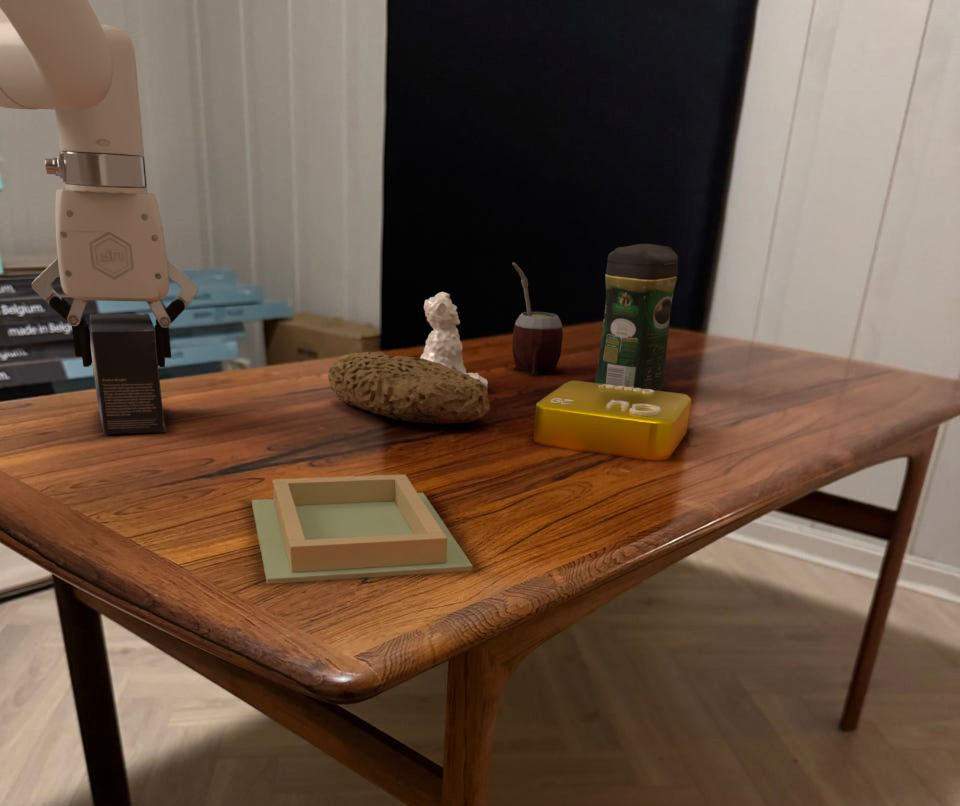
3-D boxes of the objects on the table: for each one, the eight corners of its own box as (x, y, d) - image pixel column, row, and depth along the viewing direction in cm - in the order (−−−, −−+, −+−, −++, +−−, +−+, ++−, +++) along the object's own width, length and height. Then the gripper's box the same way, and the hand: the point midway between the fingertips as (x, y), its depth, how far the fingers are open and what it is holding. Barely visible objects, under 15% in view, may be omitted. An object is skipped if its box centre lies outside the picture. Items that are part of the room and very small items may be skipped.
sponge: (317, 415, 114) (400, 419, 98) (320, 347, 113) (405, 340, 97) (411, 424, 122) (502, 430, 106) (416, 361, 120) (509, 357, 104)
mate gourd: (560, 369, 140) (569, 260, 133) (558, 380, 133) (568, 265, 126) (509, 366, 140) (516, 256, 133) (505, 377, 133) (512, 262, 126)
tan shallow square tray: (267, 586, 67) (265, 552, 66) (251, 506, 81) (250, 477, 80) (472, 573, 71) (474, 540, 70) (423, 498, 85) (423, 470, 84)
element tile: (688, 431, 111) (695, 390, 109) (666, 465, 98) (673, 418, 96) (564, 415, 115) (568, 374, 113) (528, 445, 103) (531, 400, 100)
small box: (98, 410, 106) (86, 311, 101) (160, 409, 108) (151, 312, 103) (100, 435, 97) (87, 327, 92) (167, 432, 99) (158, 328, 94)
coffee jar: (618, 383, 133) (635, 239, 125) (670, 392, 129) (690, 245, 121) (583, 393, 126) (598, 242, 118) (637, 404, 122) (656, 248, 114)
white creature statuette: (491, 395, 123) (496, 297, 117) (430, 399, 119) (432, 298, 114) (461, 379, 130) (464, 286, 125) (402, 382, 127) (403, 287, 121)
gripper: (0, 170, 86) (30, 371, 94) (199, 181, 91) (212, 372, 99) (12, 169, 93) (40, 357, 101) (198, 179, 97) (210, 358, 105)
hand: (125, 363), depth 100 cm, fingers closed on small box, 6 cm apart
